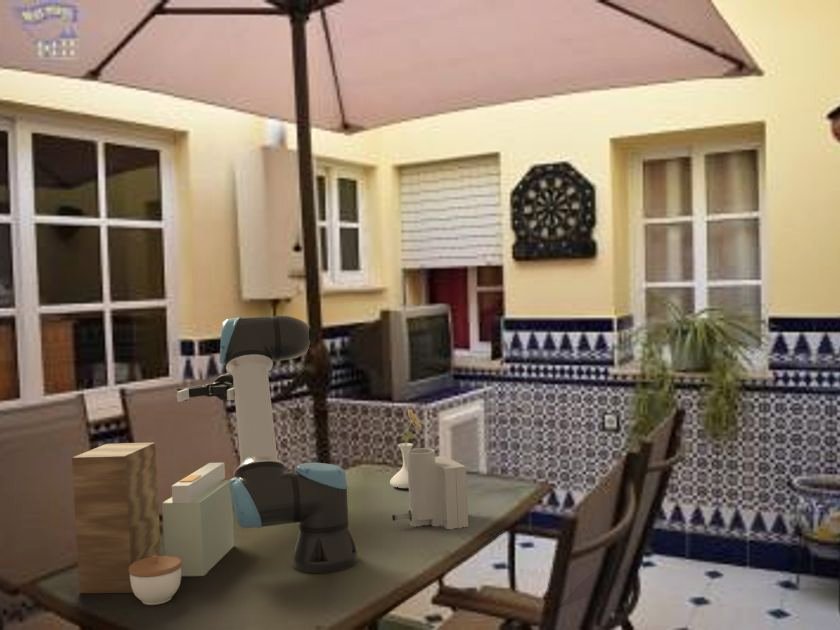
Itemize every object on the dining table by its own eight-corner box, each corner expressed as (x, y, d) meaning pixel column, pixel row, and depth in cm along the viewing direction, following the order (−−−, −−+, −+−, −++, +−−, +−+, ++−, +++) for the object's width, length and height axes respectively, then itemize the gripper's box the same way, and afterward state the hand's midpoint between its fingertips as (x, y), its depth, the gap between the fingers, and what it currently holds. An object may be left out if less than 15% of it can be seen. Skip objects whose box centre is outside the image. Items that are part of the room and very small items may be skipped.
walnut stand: (110, 568, 195) (104, 443, 194) (161, 567, 194) (155, 442, 193) (76, 593, 179) (69, 457, 178) (132, 592, 178) (124, 456, 177)
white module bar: (210, 478, 212) (209, 461, 212) (225, 477, 211) (224, 461, 211) (172, 503, 187) (171, 484, 187) (189, 502, 186) (188, 484, 186)
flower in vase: (412, 492, 256) (408, 413, 256) (383, 489, 263) (379, 412, 262) (434, 483, 267) (431, 407, 267) (405, 480, 274) (402, 406, 273)
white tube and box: (469, 526, 217) (466, 452, 216) (403, 536, 210) (399, 459, 210) (446, 512, 232) (443, 442, 231) (384, 521, 226) (381, 449, 225)
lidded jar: (153, 612, 166) (151, 567, 166) (119, 604, 172) (117, 559, 171) (194, 595, 175) (191, 551, 175) (160, 587, 181) (158, 545, 180)
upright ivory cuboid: (200, 546, 210) (196, 480, 209) (234, 545, 209) (230, 480, 208) (165, 576, 188) (162, 503, 187) (203, 575, 187) (199, 502, 186)
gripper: (272, 397, 235) (250, 408, 214) (188, 400, 238) (158, 411, 216) (270, 372, 235) (248, 380, 214) (187, 374, 237) (157, 383, 216)
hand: (203, 395), depth 215 cm, fingers open, 13 cm apart
